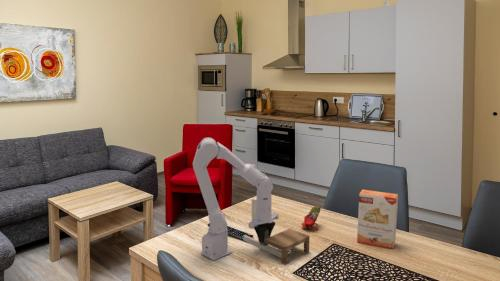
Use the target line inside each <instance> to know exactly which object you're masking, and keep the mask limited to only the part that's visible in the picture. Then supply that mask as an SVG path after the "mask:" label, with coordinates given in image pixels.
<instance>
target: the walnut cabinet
mask: <svg viewBox="0 0 500 281" xmlns="http://www.w3.org/2000/svg"><path fill="white" fill-rule="evenodd" d="M265 243H266V244H268V245H269V246H271V247H273V248H275V249H281V250H282V258H281V264H283V265H287V264H288V261H289V259H288V258H289V256H288V250H289V249H291V250H292V248H295V247H297V246H299V245H301V244H303V253H305V254H308V253H310V235H308V234H306V233H302V232H300V231H296V230H295V229H291V228H288V229H285V230H282V231H280V232H279V233H276V234H273V235H271V236H270V237H268V238H266V239H265Z"/></svg>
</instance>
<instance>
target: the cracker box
mask: <svg viewBox="0 0 500 281" xmlns="http://www.w3.org/2000/svg"><path fill="white" fill-rule="evenodd" d="M358 196H359V197H358V216H357V233H356V234H357V235H356V237H357V238H356V242H357V243H361V244H366V245H372V246H374V247H375V246H376V247H381V248H385V249H391V250H393V249H394V247H395V245H396V235H397V220H398V205H399V204H398V202H399V194H398V193H391V192H383V191H378V190H370V189H369V190H368V189H361V191H360V192H359V194H358Z"/></svg>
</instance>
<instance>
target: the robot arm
mask: <svg viewBox="0 0 500 281" xmlns="http://www.w3.org/2000/svg"><path fill="white" fill-rule="evenodd" d="M215 158H216V160H217V159H218V160H219V159H220V160H221V159H224V160H225V161H226V162H228V163H229V164H231V165H232V166H234V168H236V169H237V170H239V175H240V177H242V178H243V179H244V180H245V181H247V182H248V183H250V185H252V186H253V187H256V196H255V197H256V203H257V217H256V218H255V219H254V220H253V221H252V220H251V221H250V222H248V228H249V229H252V230H253V229H254V231H255V234H256V235H257V236H256V237H257V241H259V242H261V243H264V235H265V230H266V229H269V237H271V236H272V232H273V230H274V227H275V226H276V222H275V221H274V220H278V219H279V217H280V216H279V213H276V212H274V213H272V191H273V190H274V185H273V182H272V181H271V179H270V178H269V177H268V176H267V175H266V174H265V173H264V172H261V171H260V170H259V169H258V168H257V166H256V165H255V164H254V163H253V164H252V163H245V162H243V161H242V160H241V159H240V158H239V157H237V155H235V154H234V153H233V152H232V151H231V150H230V149H229V148H227V147H226V146H224V145H223V143H222V144H221V143H220V142H219V141H217V142H216V140H215V139H214V138H212V137H204V138H202V140H200V142H199V143H198V145H197V147H196V152H195V155H194V157H193V161H192V168H193V171H194V175H195V177H196V180H197V183H198V185H199V189H200V192H201V195H202V198H203V200H204V204H205V206H206V210H207V213H208V214H207V215H208V222H209V228H208V229H207V230H208V231H207V232H206V233H205V234H203V235H202V237H201V252H200V254H201V255H203V256H204V257H207V258H209V259H210V260H212V261H215V260H217V259H221V258H222V257H225V256H228V255H230V254H233V252H234V251H233V250H231V249H229V241H228V233H229V232H228V222H227V220H226V216H225V213H224V212H223V211H222V210H221V208H220V206H219V202H218V200H217V197H216V193H215V190H214V187H213V184H212V182H211V178H210V175H209V172H208V169H207V167H208V165H209V164H210V163H211V161H212V160H213V159H215Z"/></svg>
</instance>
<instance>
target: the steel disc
mask: <svg viewBox="0 0 500 281" xmlns="http://www.w3.org/2000/svg"><path fill="white" fill-rule="evenodd" d="M277 249H278V248H277ZM278 250H280V251H282V250H281V249H278ZM291 254H292V248H291V249H289V250H288V257H289V256H290V255H291Z"/></svg>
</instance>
